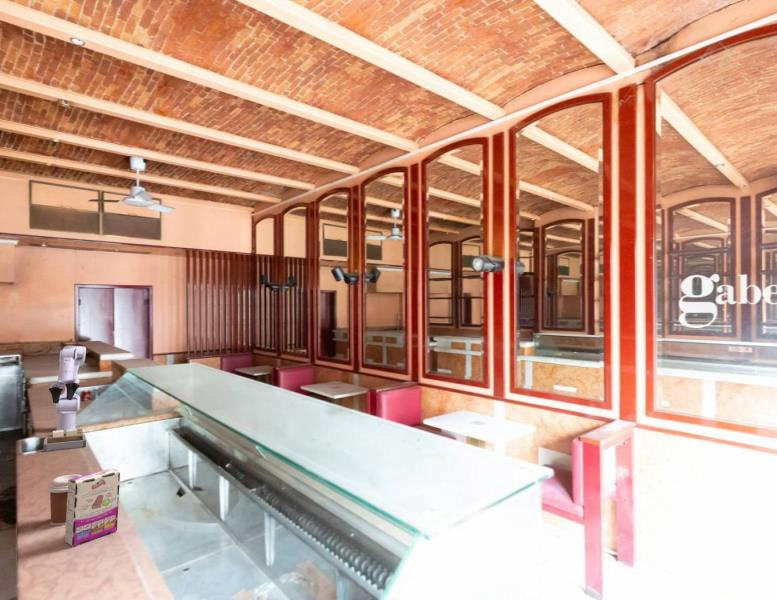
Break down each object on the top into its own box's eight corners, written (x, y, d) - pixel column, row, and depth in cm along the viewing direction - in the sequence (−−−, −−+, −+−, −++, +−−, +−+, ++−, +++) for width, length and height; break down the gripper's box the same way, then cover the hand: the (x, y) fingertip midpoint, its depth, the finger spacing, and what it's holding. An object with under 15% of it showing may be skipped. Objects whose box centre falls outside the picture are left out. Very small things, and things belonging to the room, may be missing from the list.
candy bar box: (108, 526, 125) (112, 467, 126) (117, 531, 122) (121, 471, 123) (62, 542, 115) (67, 478, 116) (71, 548, 113) (76, 482, 114)
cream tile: (52, 435, 206) (53, 430, 206) (63, 434, 208) (63, 429, 208) (52, 437, 203) (53, 432, 203) (63, 436, 205) (63, 431, 205)
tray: (43, 445, 198) (44, 438, 198) (84, 440, 207) (84, 434, 208) (43, 451, 189) (43, 444, 189) (85, 447, 198) (86, 440, 198)
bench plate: (45, 437, 210) (46, 432, 210) (81, 434, 218) (81, 429, 219) (45, 444, 199) (45, 439, 199) (82, 440, 207) (83, 435, 208)
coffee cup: (42, 519, 128) (46, 477, 128) (80, 511, 134) (83, 470, 135) (46, 531, 121) (50, 486, 122) (86, 521, 127) (89, 479, 128)
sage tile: (65, 434, 209) (66, 429, 209) (76, 433, 211) (76, 428, 211) (66, 435, 206) (66, 431, 206) (76, 434, 208) (76, 430, 208)
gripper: (45, 374, 209) (41, 403, 203) (71, 368, 206) (67, 397, 201) (59, 377, 215) (55, 405, 210) (84, 371, 212) (81, 399, 207)
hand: (62, 401), depth 206 cm, fingers open, 7 cm apart
